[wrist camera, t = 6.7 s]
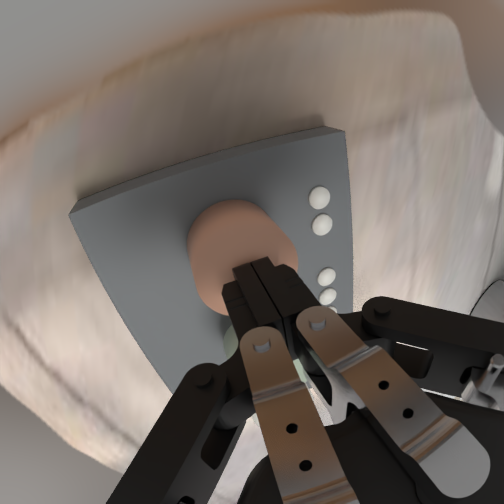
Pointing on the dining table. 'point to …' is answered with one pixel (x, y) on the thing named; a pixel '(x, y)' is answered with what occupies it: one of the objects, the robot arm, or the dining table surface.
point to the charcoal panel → (181, 219)
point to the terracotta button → (233, 246)
